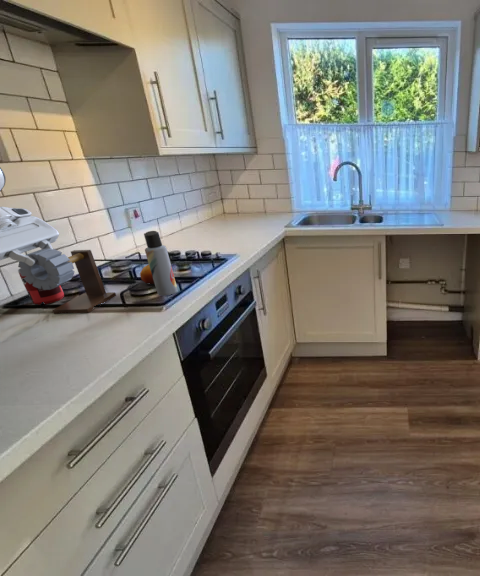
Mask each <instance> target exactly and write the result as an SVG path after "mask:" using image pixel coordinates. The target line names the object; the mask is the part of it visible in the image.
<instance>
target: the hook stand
mask: <svg viewBox="0 0 480 576" xmlns="http://www.w3.org/2000/svg"><path fill="white" fill-rule="evenodd" d="M70 254H71V256H67V257H68V258H69V259H70V260H69V261H68V262H72V264H73V265H75V268H76V270H77V273H78V275H79V278H80V281H81V284H82V286H83V288H84V291H85V292H84V293H82V294H80V295H78V296H76V297H74V298H72V299H71V300H69V301H67V302H65V303H63V304H62V305H59V306H57V307H55V308H54V309H52V312H53V314H54V315H56V314H57V315H59V314H89V313H91V312H92V311H93V310H92V309H93V307H94V306H96V305H98V304H101V303H104V302H105V303H107V302H109V301H110V300H112V299H113V298H115V297H117V292H113V291H112V292H111V291H110V292H107V291H106V288H105V286H104V282H103V280H102V277H101V275H100V272H99V269H98V266H97V263H96V260H95V258H94V255H93V253H92V250H91V249H74V250H71V251H70ZM105 303H104V304H105Z"/></svg>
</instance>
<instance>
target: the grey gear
mask: <svg viewBox="0 0 480 576" xmlns="http://www.w3.org/2000/svg"><path fill="white" fill-rule="evenodd" d="M62 253H63V252H62V251H60V250H57V249H56V248H53V250H52V249H51V248H47V249H41V248H40V249H39V250H36V251H35V250H34V251H33V252H30V253H27V254H25V255H26V256H29V257H30V256H33V257H35V258H36V259H37V260H38V262H37V264H35V265H33V266H29V265H28V264H26V263H25V262H20V261H18V266H17V267H18V269H19V271H20V273H21V276H26V277H25V278H24V279H25V280H26V281H27V282H28V283H29V284H32V283H33V286H34V287H36V288H39V289H42V288H43V290H51V289H54V288H56V287H58V286H60V285H61V286H62V285H65V284H66V283H68V282H70V281H71V280H72V278H74V275H75V267H74V263H73V264H72V262H68V261H69V260H70V259H69V258H68V257H69V256H67V255H66V254H65V253H63V254H62ZM20 268H21V269H20Z"/></svg>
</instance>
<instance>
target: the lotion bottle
mask: <svg viewBox="0 0 480 576" xmlns="http://www.w3.org/2000/svg"><path fill="white" fill-rule="evenodd" d="M143 237H144V240H145V244H146V248H145V249H144V253H145V256H146V260H147V263H148V264H149V266H150V270H151V273H152V276H153V280H154V283H155V284H154V286H155V289H156V292H157V295H158V296H159V295H161V296H160V297H167V295H168V296H171V294H172V295H174V294H176V293H178V285H177V282H176V278H175V274H174V271H173V268H172V267H173V266H172V262H171V259H170V255H169V252H168V248H167V246H166V245H163V242H162V240H161V236H160V233H159V231H157V230H150V231H146V232H145V233H143Z"/></svg>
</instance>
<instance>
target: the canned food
mask: <svg viewBox="0 0 480 576" xmlns="http://www.w3.org/2000/svg"><path fill="white" fill-rule="evenodd" d="M19 269H21V268H20V267H19V268H18V269H17V273H18V275H19V277H20V279H21V281H22V282H21V283H22V284H23V285H24V288H25V290H26V292H27V295H28V297H29V299H30V301H31V303H32V304H34V305H36V304H38V305H37V306H40V304H41V303H42V302H44V303H45V304H44V305H50V304H54V303H56V301H57V302H59V301H61V300H63V299H64V298H63V297H65V293H64V290H63V288H62V285H60V286H58V287H56V288H54V289H51V290H43V288H42V289H39V288H36V287H34V286H33V283H32V284H29V283H28V282H27V281H26V280H25V279H24V278H25V277H26V276H21V273H20V271H19ZM49 303H50V304H49Z"/></svg>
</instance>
